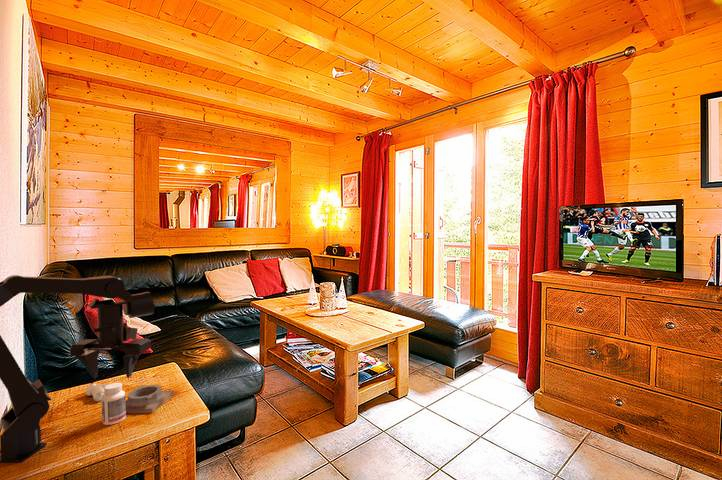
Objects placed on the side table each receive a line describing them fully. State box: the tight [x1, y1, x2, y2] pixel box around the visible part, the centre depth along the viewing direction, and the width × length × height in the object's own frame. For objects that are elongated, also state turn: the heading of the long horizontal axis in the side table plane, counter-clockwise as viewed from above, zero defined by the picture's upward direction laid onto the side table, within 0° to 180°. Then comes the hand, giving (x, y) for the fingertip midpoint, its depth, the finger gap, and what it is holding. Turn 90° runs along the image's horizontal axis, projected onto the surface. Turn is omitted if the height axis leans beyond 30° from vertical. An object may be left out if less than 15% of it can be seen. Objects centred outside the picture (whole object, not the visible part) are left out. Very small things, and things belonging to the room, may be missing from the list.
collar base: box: [125, 384, 174, 414], centre depth 104 cm, size 11×11×4 cm
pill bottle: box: [101, 382, 127, 426], centre depth 95 cm, size 5×5×10 cm
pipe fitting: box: [85, 383, 110, 403], centre depth 109 cm, size 8×4×7 cm
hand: (112, 377), depth 95 cm, fingers open, 9 cm apart
